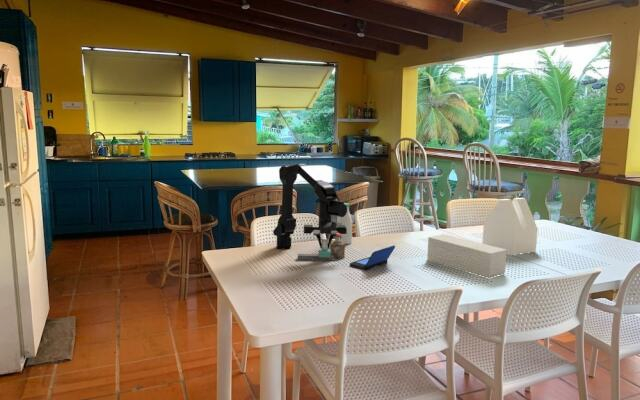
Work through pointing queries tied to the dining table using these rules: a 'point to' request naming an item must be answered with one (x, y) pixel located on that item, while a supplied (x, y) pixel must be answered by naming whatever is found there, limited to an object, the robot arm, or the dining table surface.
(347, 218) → the milk bottle
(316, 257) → the rail
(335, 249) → the cabinet
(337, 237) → the plunger
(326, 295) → the dining table surface
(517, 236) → the beige tapered block
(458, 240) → the beige long block
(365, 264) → the handheld game console
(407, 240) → the dining table surface
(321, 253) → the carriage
